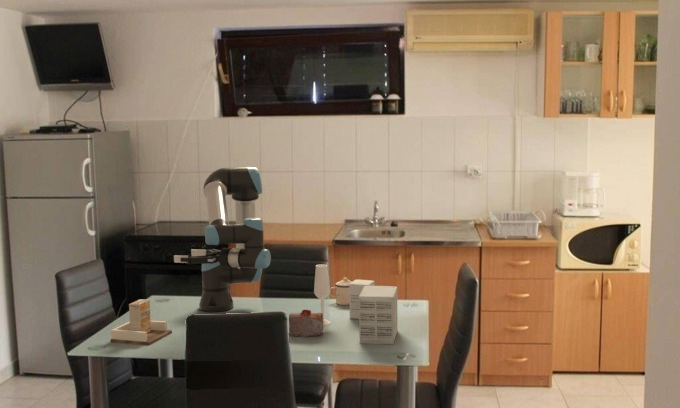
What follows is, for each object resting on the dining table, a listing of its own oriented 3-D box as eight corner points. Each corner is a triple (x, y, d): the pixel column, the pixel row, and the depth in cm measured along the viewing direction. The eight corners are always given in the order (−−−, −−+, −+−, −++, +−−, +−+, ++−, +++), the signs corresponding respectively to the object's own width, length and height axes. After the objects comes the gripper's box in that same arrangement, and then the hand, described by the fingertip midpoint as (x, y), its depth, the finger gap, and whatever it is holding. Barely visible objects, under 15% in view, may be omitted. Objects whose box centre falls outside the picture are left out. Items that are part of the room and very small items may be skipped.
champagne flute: (325, 326, 280) (324, 267, 277) (311, 323, 283) (310, 266, 280) (333, 321, 285) (332, 264, 283) (319, 319, 289) (318, 263, 286)
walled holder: (171, 332, 274) (171, 321, 274) (149, 345, 259) (149, 333, 258) (134, 329, 279) (134, 318, 278) (110, 341, 264) (109, 330, 263)
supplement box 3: (364, 330, 273) (364, 285, 271) (398, 331, 271) (397, 285, 269) (358, 343, 256) (357, 295, 254) (394, 344, 254) (393, 296, 252)
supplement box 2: (355, 313, 298) (355, 279, 297) (375, 314, 295) (375, 280, 294) (348, 318, 290) (348, 283, 288) (369, 320, 287) (368, 284, 285)
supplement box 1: (141, 337, 265) (139, 304, 263) (130, 337, 266) (128, 304, 264) (151, 331, 273) (150, 299, 271) (140, 331, 274) (139, 298, 272)
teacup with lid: (356, 300, 320) (356, 275, 318) (354, 305, 311) (353, 280, 310) (330, 300, 321) (330, 275, 320) (327, 305, 312) (327, 279, 311)
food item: (324, 331, 273) (323, 307, 271) (323, 337, 265) (323, 312, 264) (289, 331, 273) (289, 307, 272) (288, 338, 265) (287, 312, 264)
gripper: (217, 273, 258) (167, 271, 264) (245, 261, 282) (198, 259, 288) (216, 253, 257) (166, 251, 264) (244, 242, 281) (198, 241, 287)
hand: (183, 255), depth 276 cm, fingers open, 13 cm apart
